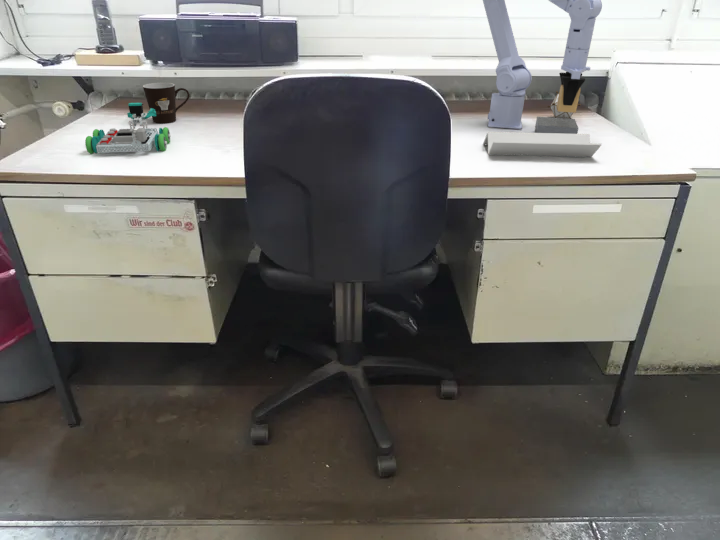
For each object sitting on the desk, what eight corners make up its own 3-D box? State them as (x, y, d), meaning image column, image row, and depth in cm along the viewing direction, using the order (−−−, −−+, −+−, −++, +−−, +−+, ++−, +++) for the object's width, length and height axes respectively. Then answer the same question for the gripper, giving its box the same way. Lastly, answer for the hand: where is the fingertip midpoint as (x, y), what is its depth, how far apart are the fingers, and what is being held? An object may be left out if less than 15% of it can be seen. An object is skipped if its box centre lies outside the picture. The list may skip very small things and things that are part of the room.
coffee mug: (145, 124, 152) (138, 88, 147) (154, 117, 159) (148, 82, 154) (186, 124, 152) (181, 88, 147) (193, 117, 160) (188, 82, 155)
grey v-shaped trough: (483, 166, 137) (482, 144, 138) (581, 168, 136) (579, 146, 138) (493, 142, 125) (493, 118, 127) (601, 145, 124) (599, 121, 126)
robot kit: (179, 130, 149) (173, 95, 144) (164, 157, 127) (158, 117, 123) (109, 132, 146) (101, 97, 141) (82, 160, 124) (72, 119, 120)
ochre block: (558, 111, 141) (562, 87, 138) (556, 107, 145) (560, 84, 142) (575, 112, 140) (580, 89, 137) (573, 108, 144) (578, 85, 141)
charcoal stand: (535, 140, 142) (538, 125, 140) (534, 130, 150) (536, 116, 148) (575, 143, 140) (578, 128, 138) (571, 133, 148) (574, 119, 146)
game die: (561, 129, 166) (581, 102, 165) (569, 126, 158) (591, 97, 156) (538, 113, 166) (558, 85, 164) (545, 109, 158) (566, 80, 156)
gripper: (598, 52, 128) (585, 110, 135) (590, 45, 140) (579, 98, 147) (567, 51, 129) (556, 108, 136) (562, 44, 142) (552, 96, 148)
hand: (566, 103), depth 142 cm, fingers closed on ochre block, 4 cm apart
